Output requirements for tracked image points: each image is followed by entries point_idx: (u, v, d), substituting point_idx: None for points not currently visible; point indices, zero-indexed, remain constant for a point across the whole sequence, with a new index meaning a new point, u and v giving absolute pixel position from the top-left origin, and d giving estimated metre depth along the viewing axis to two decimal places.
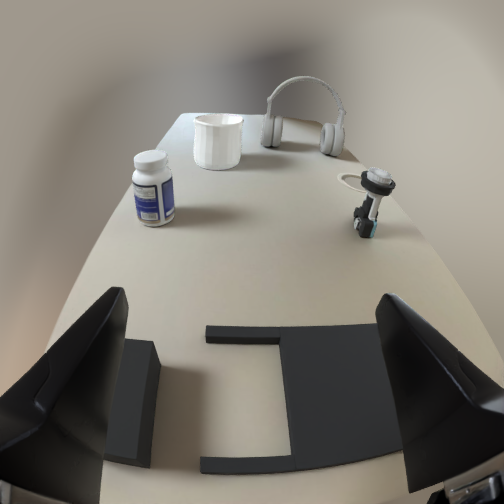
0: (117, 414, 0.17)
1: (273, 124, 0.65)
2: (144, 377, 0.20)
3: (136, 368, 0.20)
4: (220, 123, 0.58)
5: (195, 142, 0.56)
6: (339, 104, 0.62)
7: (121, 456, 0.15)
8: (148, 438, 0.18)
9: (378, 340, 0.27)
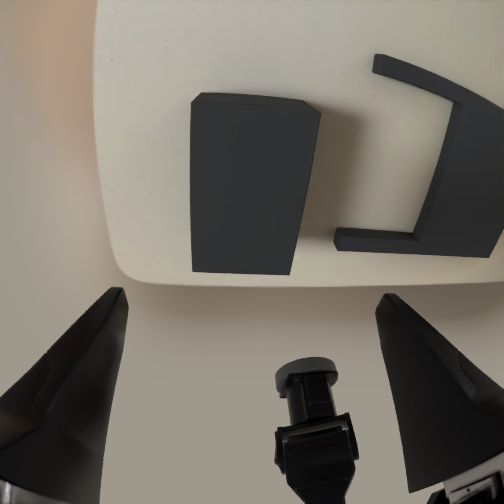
0: (267, 230, 0.16)
1: None
2: (306, 176, 0.14)
3: (293, 162, 0.14)
4: None
5: None
6: None
7: (271, 273, 0.18)
8: None
9: None
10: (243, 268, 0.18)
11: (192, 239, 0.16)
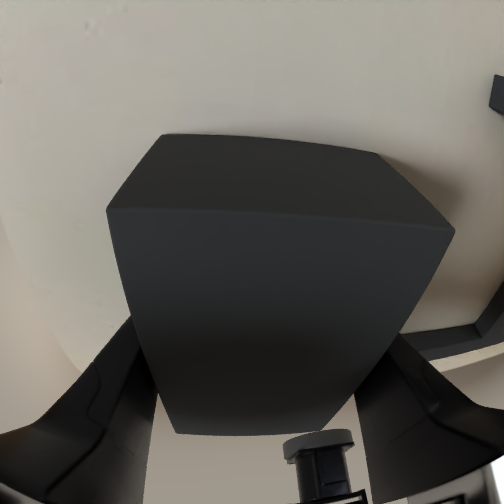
0: (297, 405, 0.08)
1: None
2: (386, 344, 0.07)
3: (369, 329, 0.06)
4: None
5: None
6: None
7: None
8: None
9: None
10: (252, 433, 0.10)
11: (168, 413, 0.09)
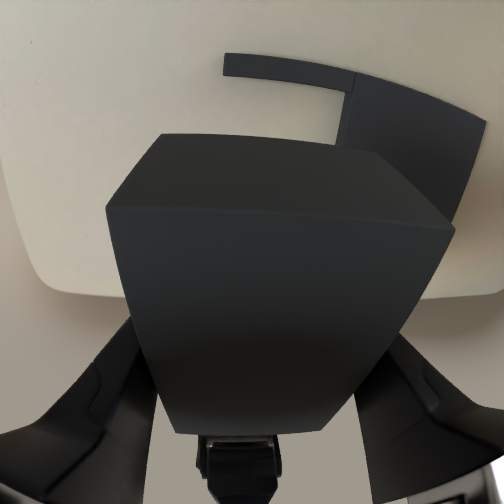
0: (297, 405, 0.08)
1: None
2: (386, 343, 0.07)
3: (368, 328, 0.06)
4: None
5: None
6: None
7: None
8: None
9: (471, 145, 0.15)
10: (252, 432, 0.10)
11: (168, 413, 0.08)
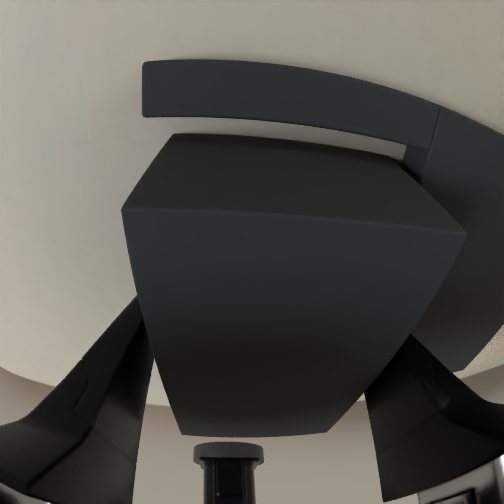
0: (305, 407, 0.08)
1: None
2: (396, 346, 0.06)
3: (381, 331, 0.06)
4: None
5: None
6: None
7: None
8: None
9: None
10: (258, 434, 0.10)
11: (175, 415, 0.08)
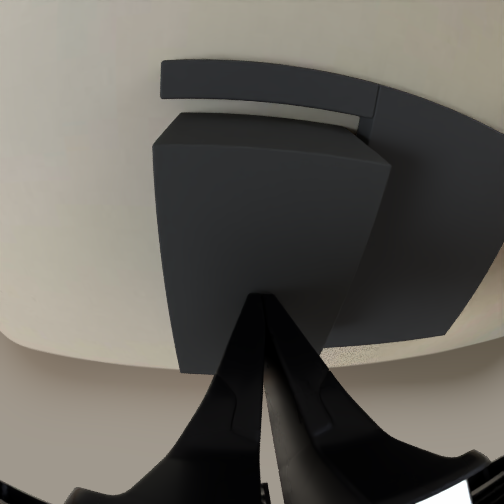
0: None
1: None
2: (353, 266, 0.09)
3: (336, 247, 0.08)
4: None
5: None
6: None
7: None
8: None
9: None
10: None
11: (176, 343, 0.11)
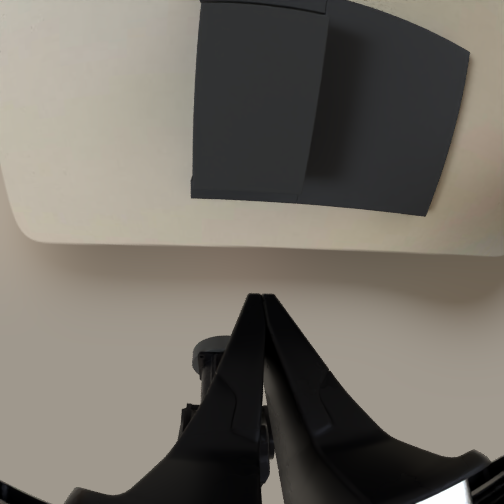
0: (278, 136, 0.14)
1: None
2: (317, 77, 0.12)
3: (303, 62, 0.12)
4: None
5: None
6: None
7: (282, 192, 0.16)
8: None
9: (457, 74, 0.14)
10: (249, 183, 0.16)
11: (194, 146, 0.14)
